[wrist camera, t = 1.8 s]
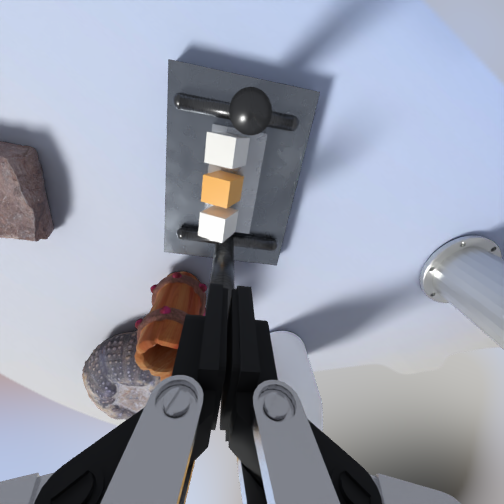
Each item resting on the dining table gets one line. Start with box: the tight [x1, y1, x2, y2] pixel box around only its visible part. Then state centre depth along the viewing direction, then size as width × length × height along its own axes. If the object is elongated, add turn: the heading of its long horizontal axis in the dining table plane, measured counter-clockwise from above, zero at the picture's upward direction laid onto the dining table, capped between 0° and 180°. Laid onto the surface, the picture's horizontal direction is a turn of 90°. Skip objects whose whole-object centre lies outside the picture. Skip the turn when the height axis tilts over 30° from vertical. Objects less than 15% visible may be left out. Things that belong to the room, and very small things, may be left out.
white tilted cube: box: [204, 132, 250, 169], centre depth 27 cm, size 3×3×4 cm
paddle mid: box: [201, 170, 244, 209], centre depth 28 cm, size 3×3×4 cm
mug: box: [134, 271, 207, 381], centre depth 36 cm, size 15×8×15 cm, turn 178°
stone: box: [0, 141, 54, 241], centre depth 31 cm, size 12×9×5 cm
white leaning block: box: [198, 205, 239, 243], centre depth 30 cm, size 3×3×4 cm
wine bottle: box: [270, 331, 323, 431], centre depth 36 cm, size 10×10×30 cm
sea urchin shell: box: [82, 330, 161, 420], centre depth 46 cm, size 19×19×10 cm
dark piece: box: [164, 59, 320, 316], centre depth 26 cm, size 16×22×18 cm
